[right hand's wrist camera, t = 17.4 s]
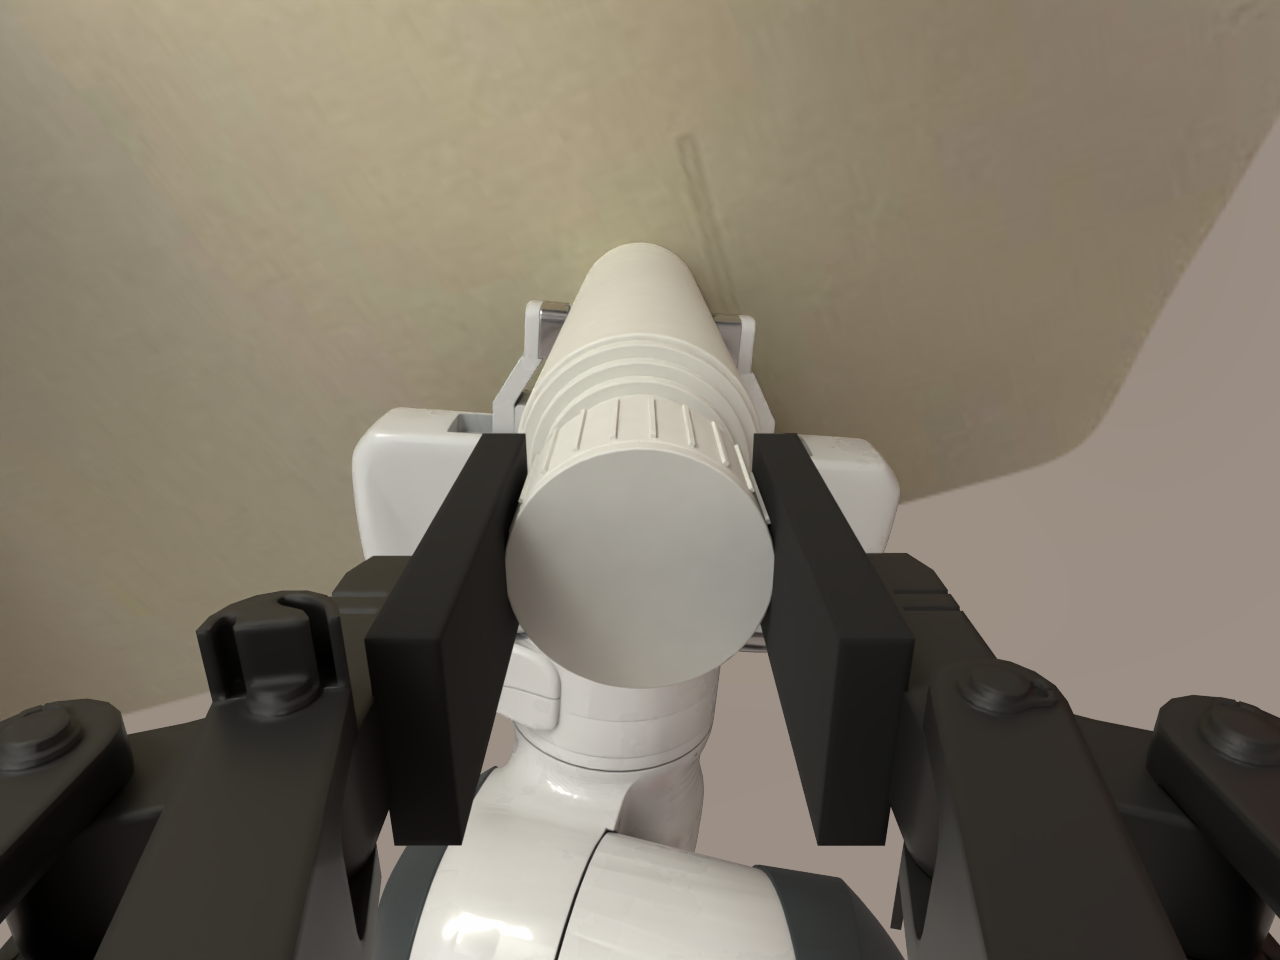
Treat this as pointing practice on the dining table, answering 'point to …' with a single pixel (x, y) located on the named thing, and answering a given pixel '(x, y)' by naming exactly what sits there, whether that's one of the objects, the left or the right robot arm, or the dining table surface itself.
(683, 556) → the cap
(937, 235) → the dining table surface
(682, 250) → the dining table surface
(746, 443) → the bottle
